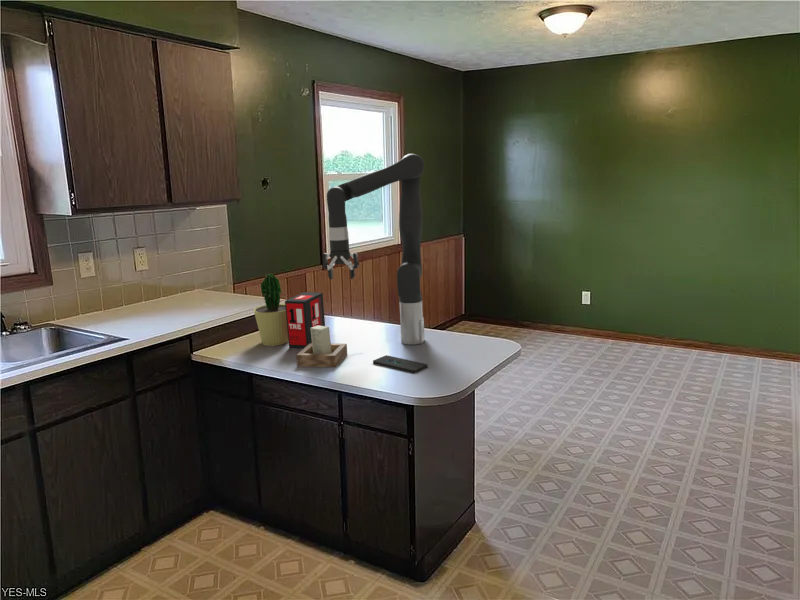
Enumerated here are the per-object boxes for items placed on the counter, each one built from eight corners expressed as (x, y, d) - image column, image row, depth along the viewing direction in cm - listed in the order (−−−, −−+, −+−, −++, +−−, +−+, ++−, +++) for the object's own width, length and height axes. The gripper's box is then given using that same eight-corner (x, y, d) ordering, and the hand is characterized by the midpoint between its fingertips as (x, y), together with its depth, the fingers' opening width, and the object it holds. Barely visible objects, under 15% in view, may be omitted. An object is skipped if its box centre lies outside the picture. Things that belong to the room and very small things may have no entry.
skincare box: (332, 357, 230) (330, 326, 228) (324, 360, 227) (321, 329, 224) (320, 355, 234) (318, 324, 231) (312, 358, 231) (309, 327, 228)
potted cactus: (267, 336, 268) (261, 269, 261) (299, 337, 264) (293, 269, 257) (250, 346, 253) (242, 276, 247) (283, 347, 249) (277, 276, 242)
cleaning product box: (307, 337, 263) (303, 292, 259) (326, 338, 261) (322, 292, 256) (289, 348, 248) (284, 300, 244) (308, 349, 245) (304, 301, 241)
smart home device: (386, 354, 230) (428, 363, 217) (386, 358, 230) (428, 368, 218) (371, 360, 224) (414, 370, 211) (372, 365, 224) (414, 374, 212)
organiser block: (347, 354, 236) (346, 343, 235) (335, 367, 222) (335, 355, 221) (311, 353, 239) (310, 343, 238) (297, 366, 225) (296, 354, 224)
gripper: (359, 236, 239) (361, 277, 243) (324, 237, 242) (327, 277, 246) (353, 239, 232) (356, 280, 236) (318, 240, 235) (321, 280, 239)
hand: (341, 278), depth 241 cm, fingers open, 8 cm apart
